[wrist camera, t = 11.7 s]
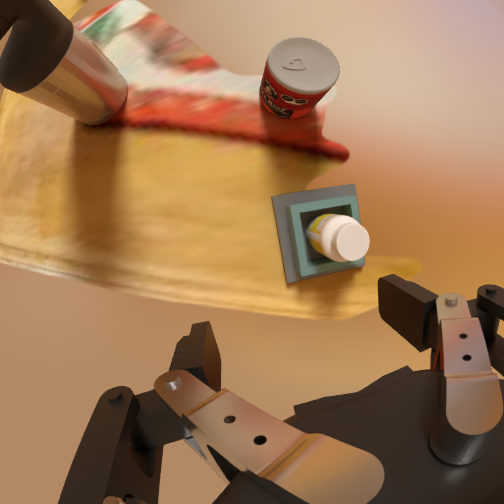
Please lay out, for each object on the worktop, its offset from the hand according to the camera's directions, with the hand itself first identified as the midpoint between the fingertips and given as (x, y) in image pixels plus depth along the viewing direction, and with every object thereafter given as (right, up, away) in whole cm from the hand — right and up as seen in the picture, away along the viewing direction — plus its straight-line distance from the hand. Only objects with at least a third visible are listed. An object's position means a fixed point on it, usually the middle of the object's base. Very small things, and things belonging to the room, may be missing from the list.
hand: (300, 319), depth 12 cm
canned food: (+3, +25, +22) cm, 34 cm away
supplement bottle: (+8, +6, +25) cm, 27 cm away
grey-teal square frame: (+7, +6, +26) cm, 28 cm away
